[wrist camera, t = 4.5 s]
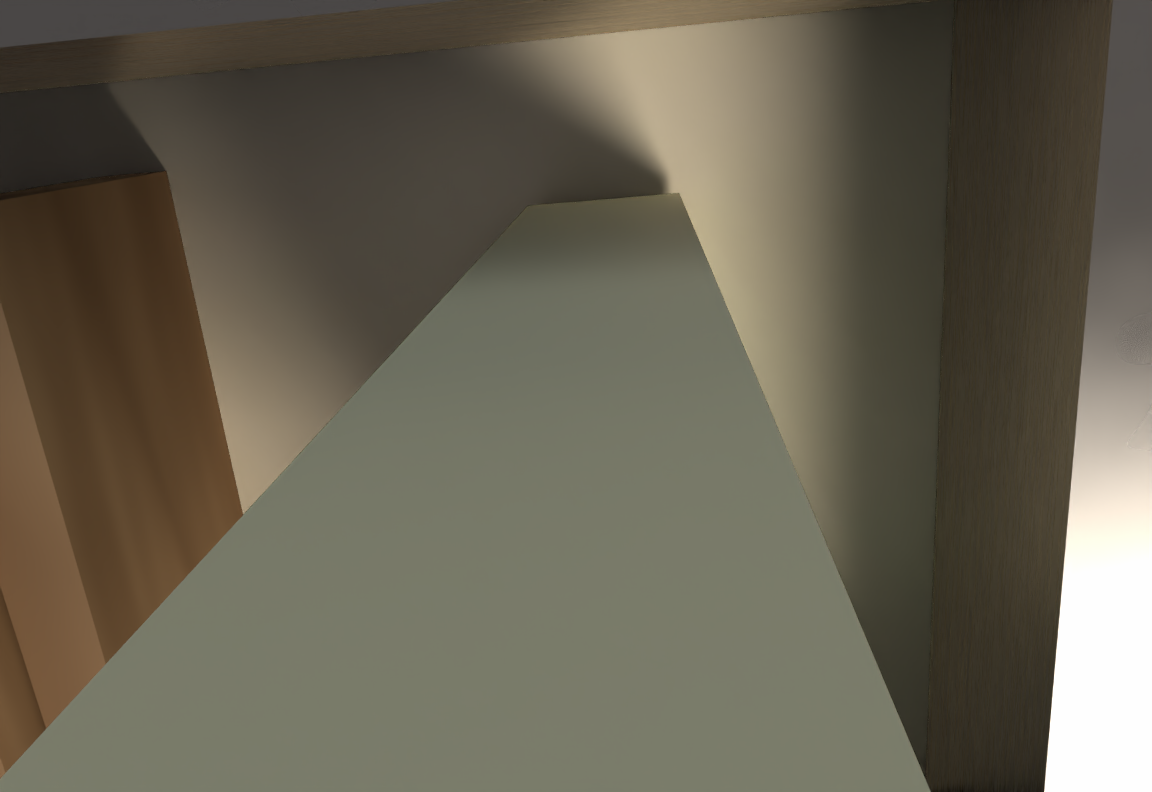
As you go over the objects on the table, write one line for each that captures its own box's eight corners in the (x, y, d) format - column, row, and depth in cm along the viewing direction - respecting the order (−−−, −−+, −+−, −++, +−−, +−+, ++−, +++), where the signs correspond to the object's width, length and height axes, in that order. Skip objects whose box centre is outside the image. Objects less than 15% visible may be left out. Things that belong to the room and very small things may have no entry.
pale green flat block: (679, 193, 15) (1001, 960, 2) (706, 706, 18) (898, 2374, 5) (528, 205, 15) (-183, 971, 2) (580, 710, 18) (439, 2320, 5)
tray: (1063, -122, 14) (1476, -322, 7) (996, 846, 19) (1189, 1248, 13) (-316, 27, 15) (-1033, -17, 9) (-9, 871, 21) (-304, 1232, 14)
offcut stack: (169, 170, 16) (-58, 210, 11) (296, 745, 20) (175, 983, 14) (-70, 192, 16) (-401, 240, 11) (101, 752, 20) (-87, 987, 15)
